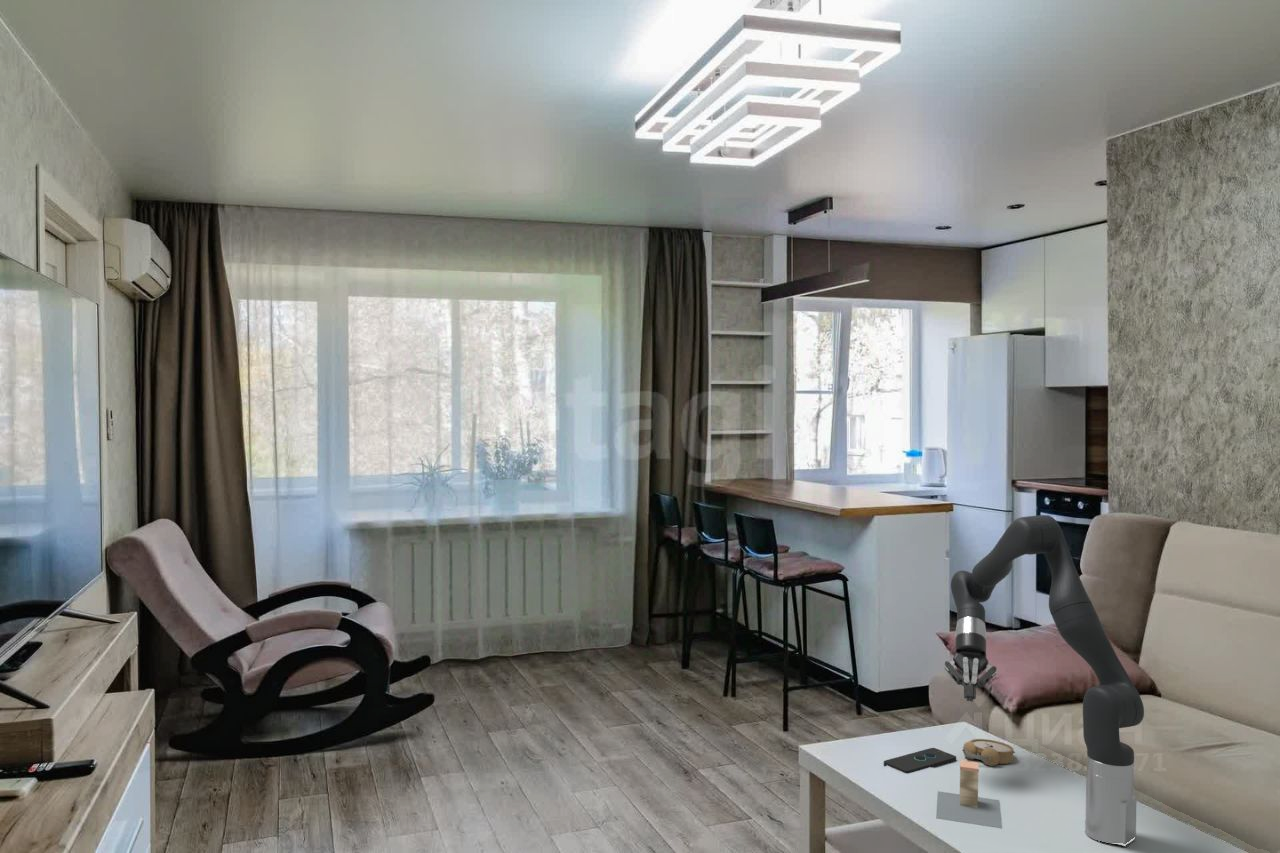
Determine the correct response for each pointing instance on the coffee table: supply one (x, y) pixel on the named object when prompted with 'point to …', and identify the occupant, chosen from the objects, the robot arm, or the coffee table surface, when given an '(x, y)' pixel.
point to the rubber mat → (968, 810)
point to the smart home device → (920, 760)
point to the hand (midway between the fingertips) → (969, 699)
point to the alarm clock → (988, 751)
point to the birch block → (969, 783)
